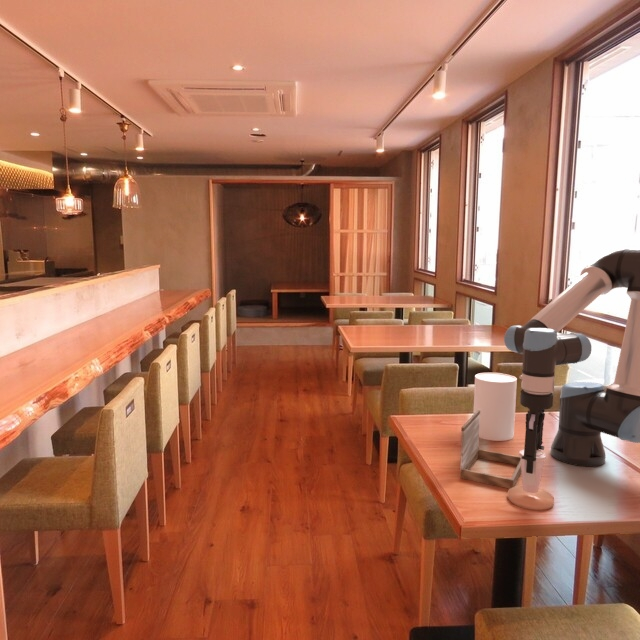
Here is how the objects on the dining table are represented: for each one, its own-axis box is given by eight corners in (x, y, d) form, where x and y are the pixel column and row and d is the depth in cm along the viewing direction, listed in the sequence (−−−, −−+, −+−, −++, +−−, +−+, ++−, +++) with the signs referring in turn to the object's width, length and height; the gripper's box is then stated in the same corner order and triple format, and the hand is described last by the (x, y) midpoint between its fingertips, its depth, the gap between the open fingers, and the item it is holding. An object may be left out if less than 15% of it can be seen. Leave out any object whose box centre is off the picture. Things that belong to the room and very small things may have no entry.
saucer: (556, 496, 139) (556, 491, 139) (550, 514, 130) (551, 509, 130) (512, 486, 145) (512, 482, 145) (503, 503, 135) (504, 499, 135)
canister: (508, 443, 176) (511, 384, 173) (467, 436, 183) (470, 378, 180) (517, 431, 187) (520, 375, 185) (478, 424, 194) (481, 370, 192)
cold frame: (524, 465, 159) (527, 417, 157) (512, 489, 143) (515, 436, 141) (471, 454, 167) (473, 409, 164) (454, 476, 151) (456, 426, 149)
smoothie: (546, 496, 133) (549, 442, 131) (519, 494, 134) (522, 440, 132) (541, 485, 139) (544, 433, 137) (515, 483, 141) (518, 431, 139)
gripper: (527, 380, 143) (522, 462, 147) (513, 397, 127) (508, 490, 130) (557, 384, 140) (552, 468, 143) (548, 402, 123) (541, 497, 126)
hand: (531, 478), depth 136 cm, fingers closed on smoothie, 6 cm apart
